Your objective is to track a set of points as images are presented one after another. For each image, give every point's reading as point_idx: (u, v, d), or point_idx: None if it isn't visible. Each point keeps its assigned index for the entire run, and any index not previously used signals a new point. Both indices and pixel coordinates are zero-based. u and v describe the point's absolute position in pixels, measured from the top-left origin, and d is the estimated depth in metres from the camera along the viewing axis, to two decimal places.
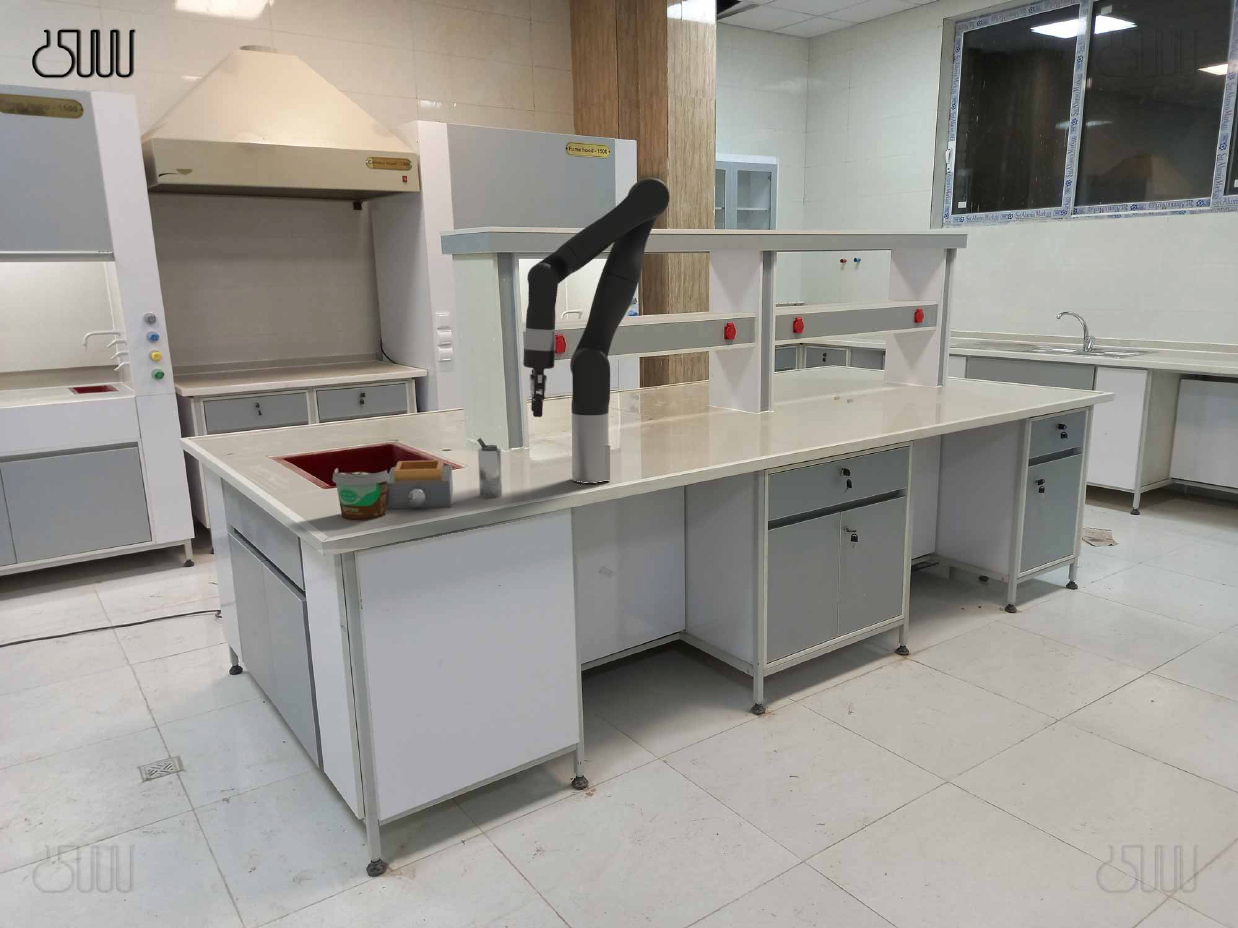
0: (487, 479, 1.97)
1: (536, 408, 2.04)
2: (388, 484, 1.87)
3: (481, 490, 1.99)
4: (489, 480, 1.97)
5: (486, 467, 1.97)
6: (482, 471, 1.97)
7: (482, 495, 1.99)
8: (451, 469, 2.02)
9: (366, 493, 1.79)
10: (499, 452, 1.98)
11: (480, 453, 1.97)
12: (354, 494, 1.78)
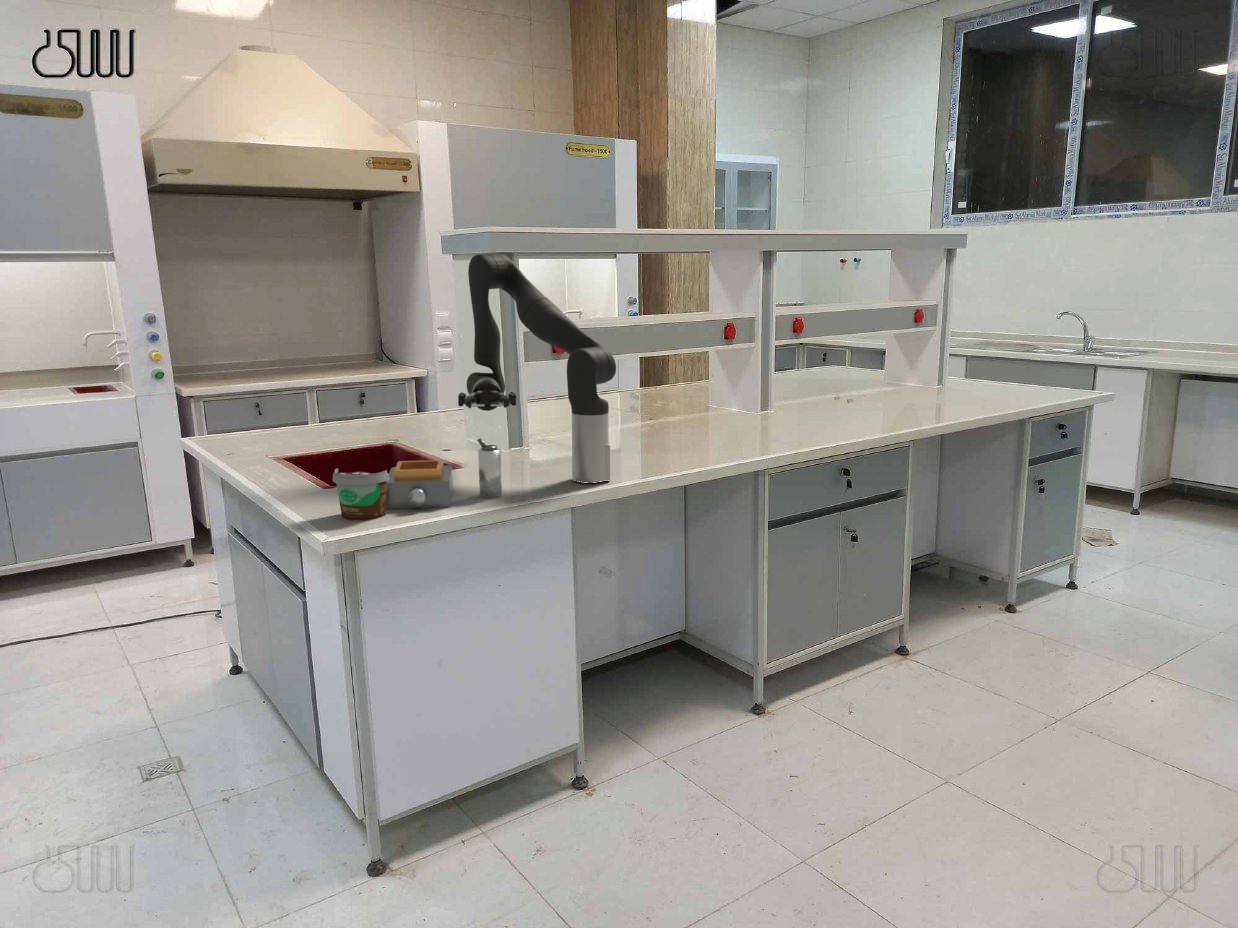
0: (487, 479, 1.97)
1: None
2: (388, 484, 1.87)
3: (481, 490, 1.99)
4: (489, 480, 1.97)
5: (486, 467, 1.97)
6: (482, 471, 1.97)
7: (482, 495, 1.99)
8: (451, 469, 2.02)
9: (366, 493, 1.79)
10: (499, 452, 1.98)
11: (480, 453, 1.97)
12: (354, 494, 1.78)
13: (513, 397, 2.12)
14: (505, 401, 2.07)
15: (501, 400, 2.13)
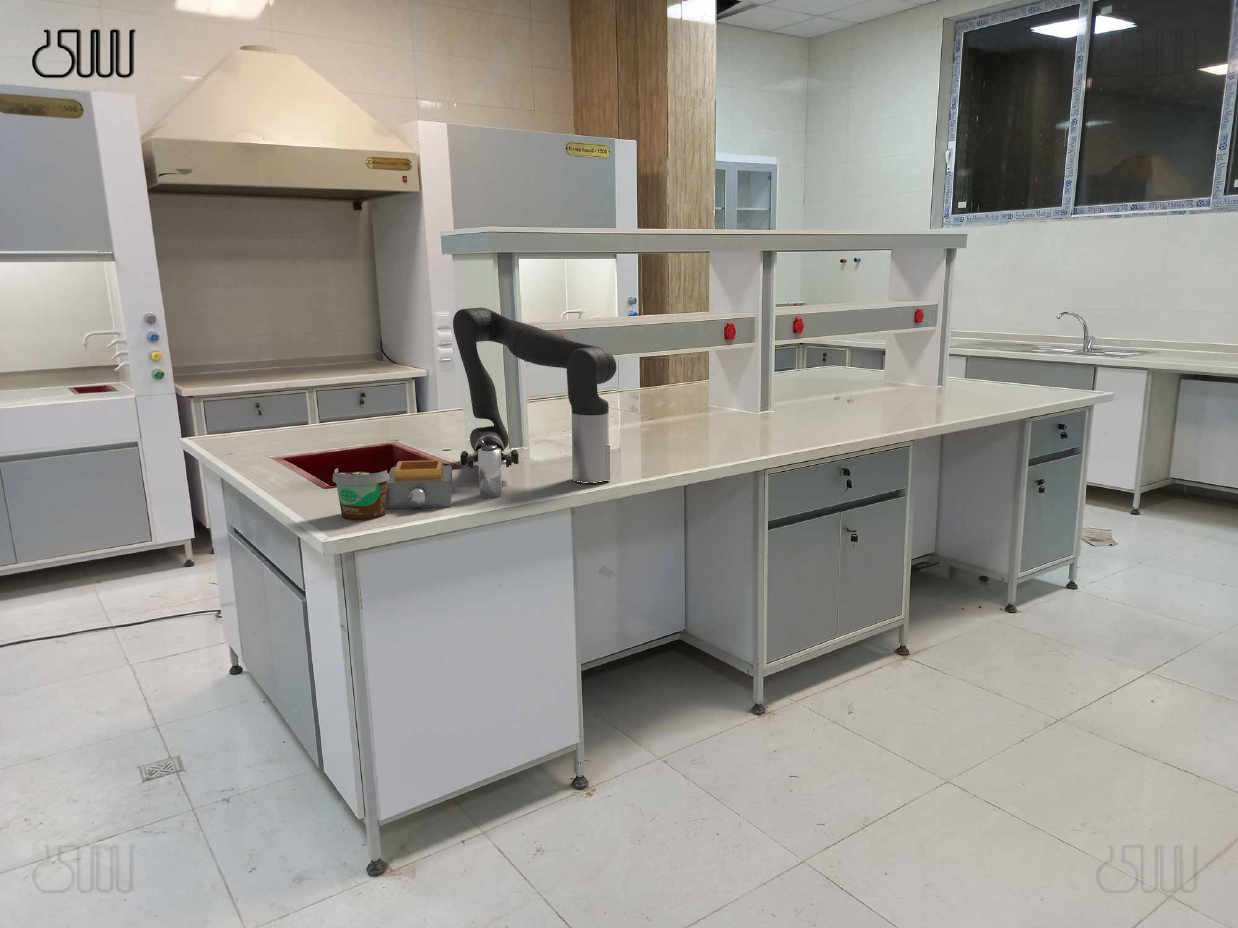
0: (487, 479, 1.97)
1: None
2: (388, 484, 1.87)
3: (481, 490, 1.99)
4: (489, 480, 1.97)
5: (486, 467, 1.97)
6: (482, 471, 1.97)
7: (482, 495, 1.99)
8: (451, 469, 2.02)
9: (366, 493, 1.79)
10: (499, 452, 1.98)
11: (480, 453, 1.97)
12: (354, 494, 1.78)
13: (515, 456, 2.11)
14: (507, 461, 2.07)
15: (503, 459, 2.12)
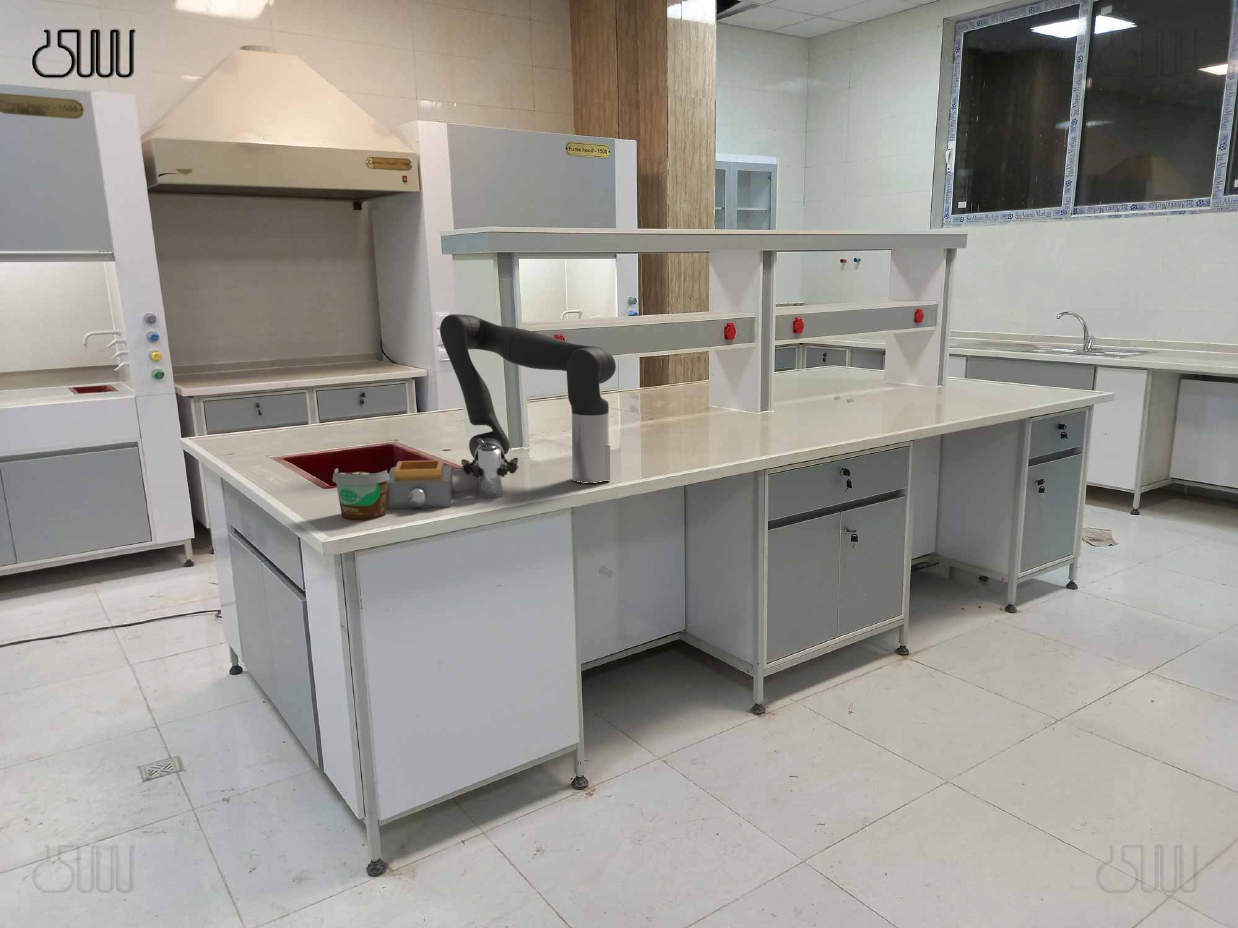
0: (488, 479, 1.97)
1: None
2: (388, 484, 1.87)
3: (481, 490, 1.99)
4: (489, 480, 1.97)
5: (486, 467, 1.97)
6: (482, 471, 1.97)
7: (482, 495, 1.99)
8: (451, 469, 2.02)
9: (366, 493, 1.79)
10: (499, 452, 1.98)
11: (480, 453, 1.97)
12: (354, 494, 1.78)
13: (510, 464, 2.02)
14: (502, 470, 1.97)
15: None
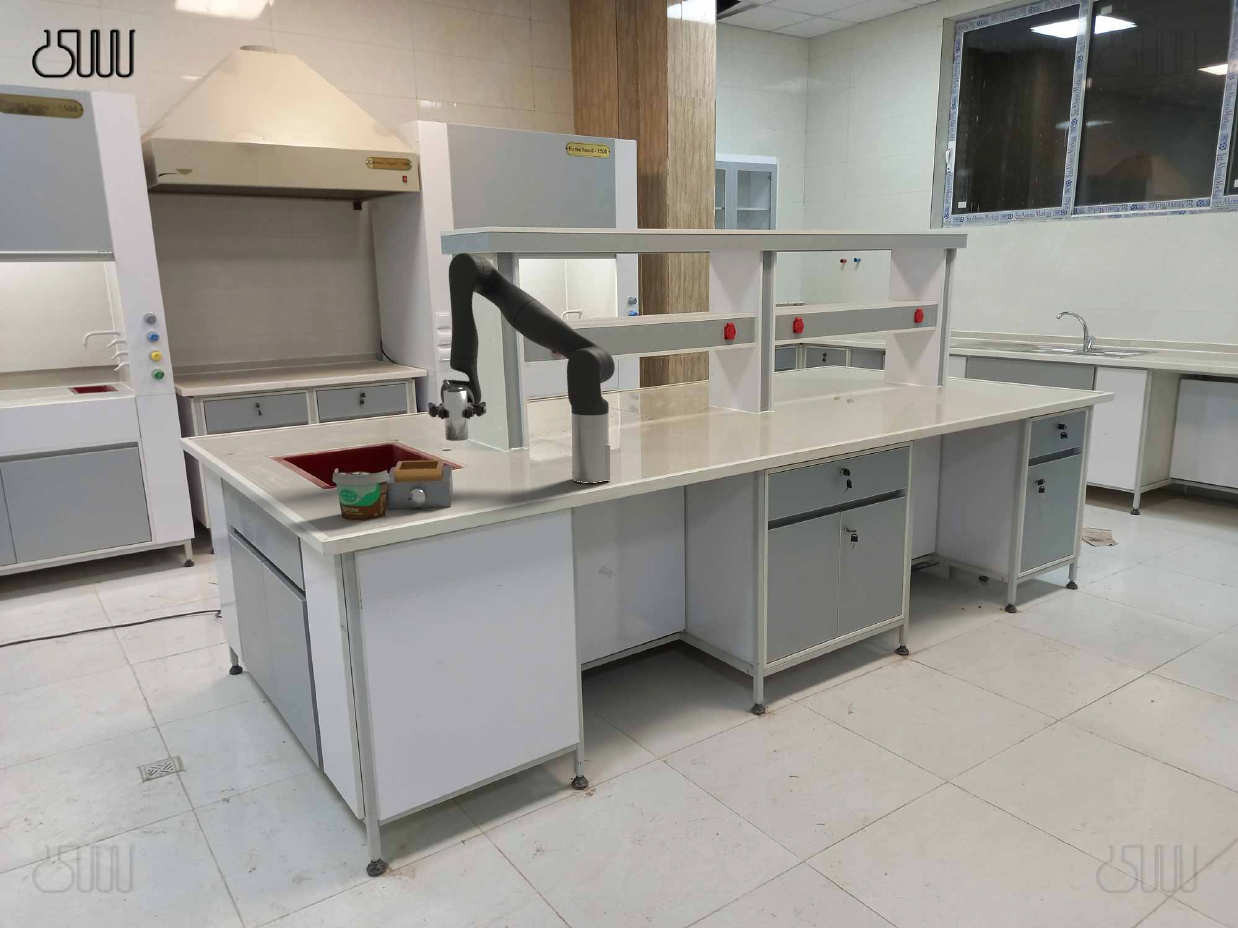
0: (453, 421, 1.93)
1: None
2: (388, 484, 1.87)
3: (447, 432, 1.95)
4: (455, 421, 1.93)
5: (451, 409, 1.93)
6: (448, 413, 1.93)
7: (448, 437, 1.95)
8: (451, 469, 2.02)
9: (366, 493, 1.79)
10: (465, 393, 1.94)
11: (445, 394, 1.93)
12: (354, 494, 1.78)
13: (477, 407, 1.98)
14: (468, 412, 1.93)
15: None
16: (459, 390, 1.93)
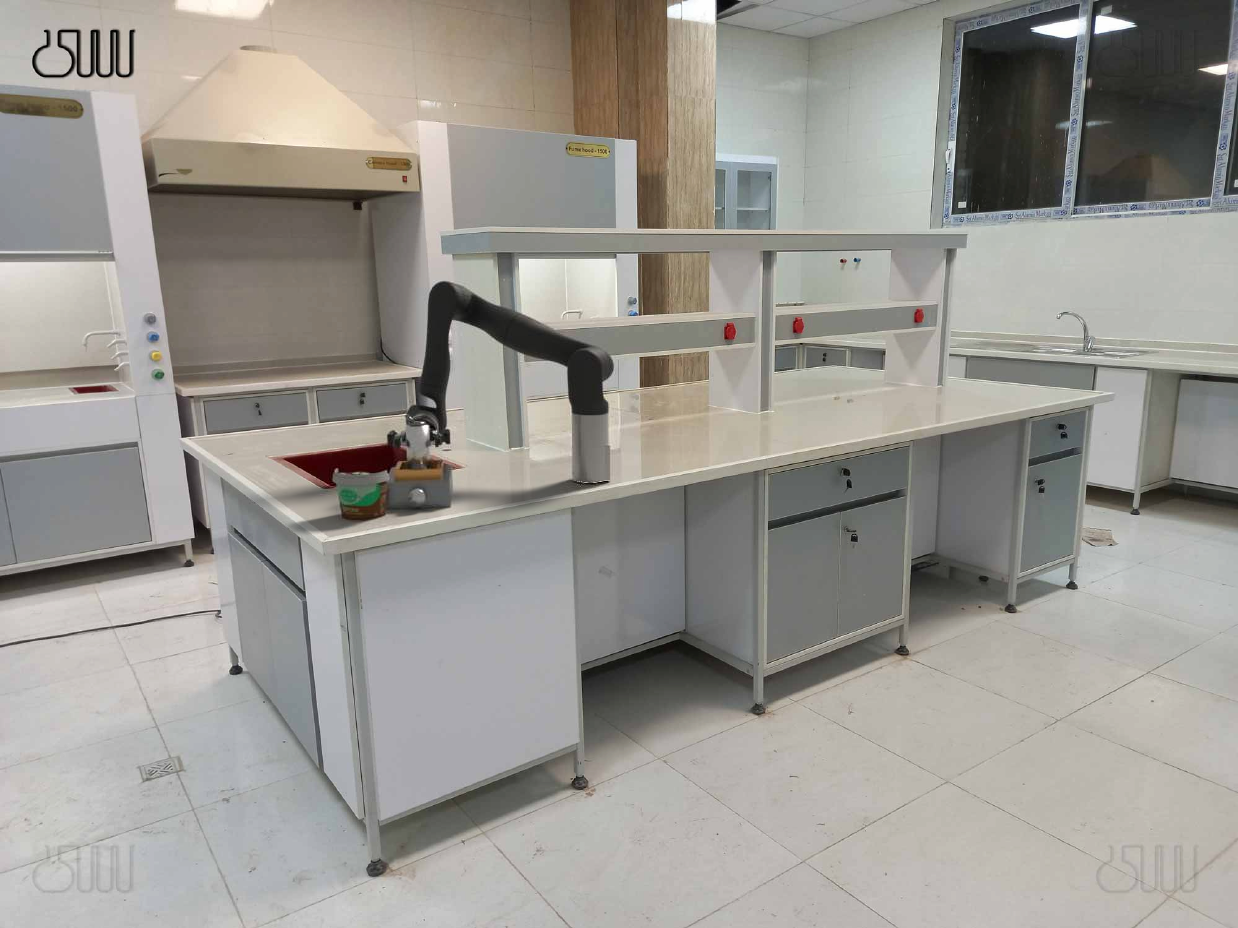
0: (415, 456, 1.93)
1: None
2: (388, 484, 1.87)
3: (409, 467, 1.94)
4: (417, 456, 1.93)
5: (413, 443, 1.92)
6: (410, 447, 1.93)
7: None
8: (451, 469, 2.02)
9: (366, 493, 1.79)
10: (427, 428, 1.93)
11: (407, 429, 1.92)
12: (354, 494, 1.78)
13: (446, 435, 1.98)
14: (436, 440, 1.93)
15: (434, 438, 1.99)
16: (421, 424, 1.93)
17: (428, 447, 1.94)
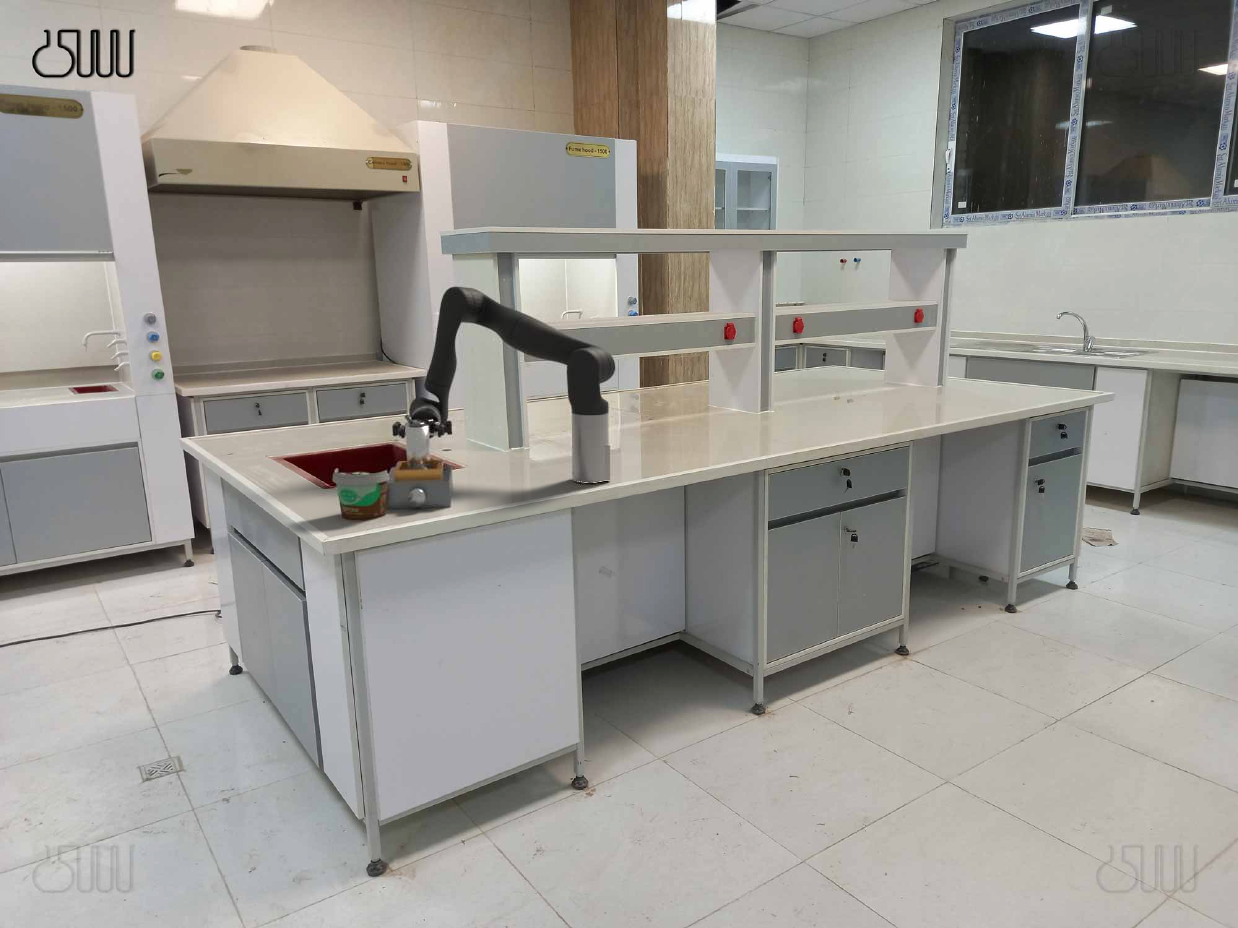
0: (415, 456, 1.93)
1: None
2: (388, 484, 1.87)
3: (409, 468, 1.94)
4: (417, 457, 1.93)
5: (413, 444, 1.92)
6: (410, 448, 1.93)
7: None
8: (451, 469, 2.02)
9: (366, 493, 1.79)
10: (427, 428, 1.93)
11: (407, 429, 1.92)
12: (354, 494, 1.78)
13: (448, 426, 2.09)
14: (439, 431, 2.05)
15: (437, 429, 2.10)
16: (421, 425, 1.92)
17: (428, 448, 1.94)
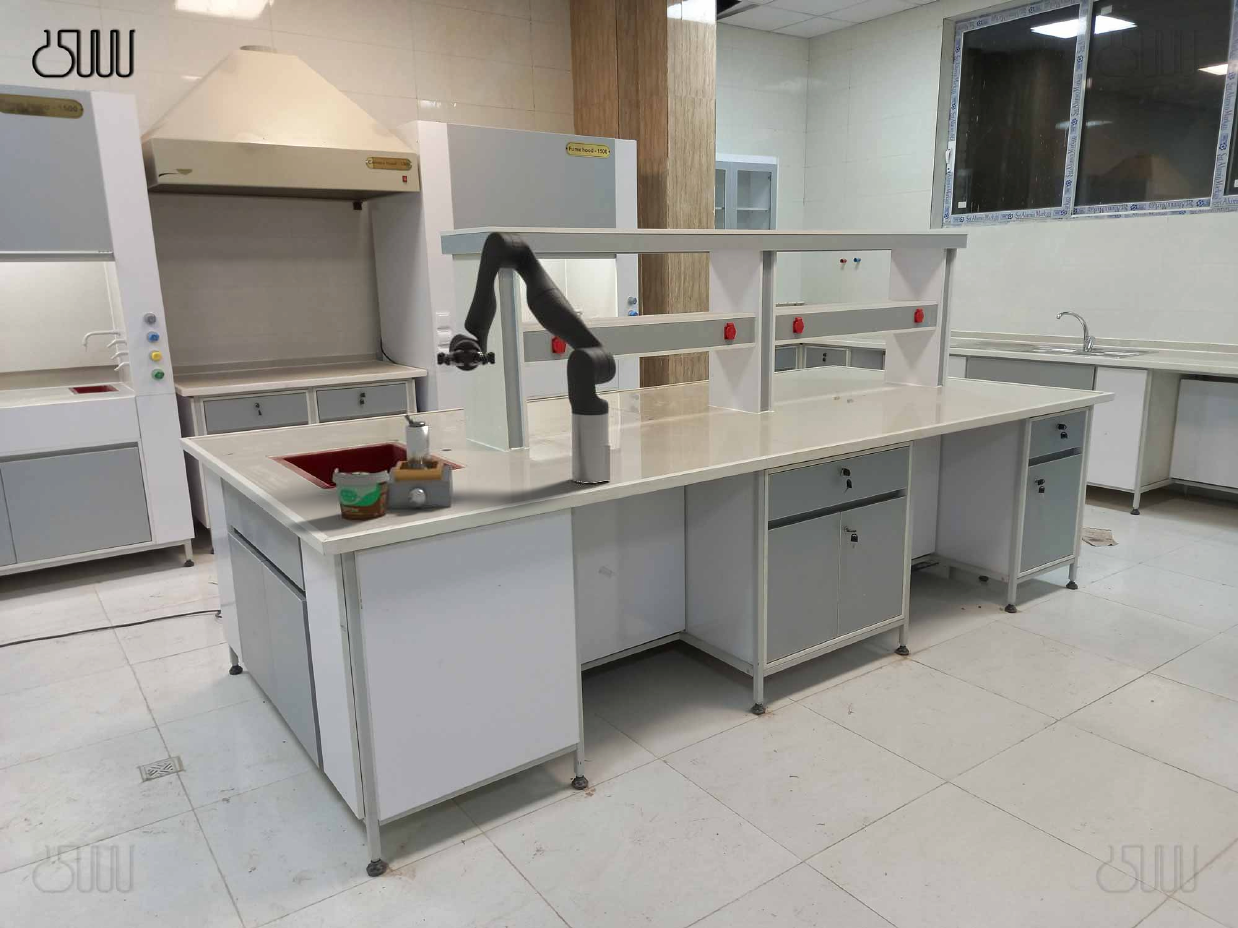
0: (415, 456, 1.93)
1: None
2: (388, 484, 1.87)
3: (409, 467, 1.94)
4: (417, 457, 1.93)
5: (413, 444, 1.92)
6: (410, 448, 1.93)
7: None
8: (451, 469, 2.02)
9: (366, 493, 1.79)
10: (427, 428, 1.93)
11: (407, 429, 1.92)
12: (354, 494, 1.78)
13: (492, 355, 2.14)
14: (483, 358, 2.10)
15: (480, 359, 2.15)
16: (421, 425, 1.92)
17: (428, 448, 1.94)
